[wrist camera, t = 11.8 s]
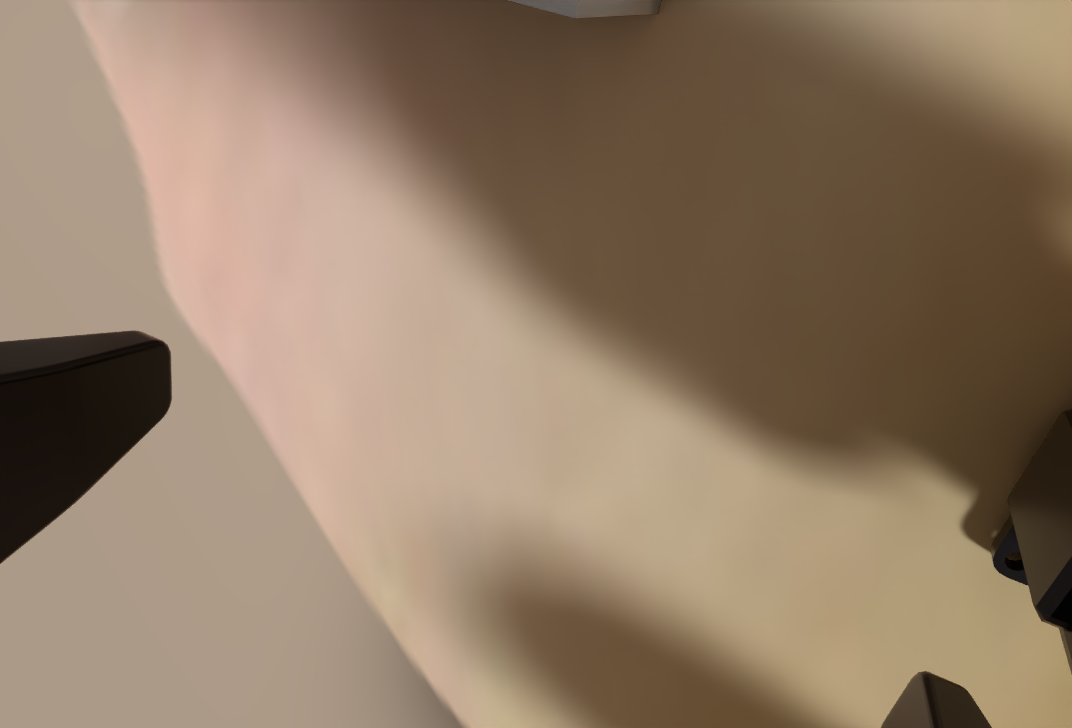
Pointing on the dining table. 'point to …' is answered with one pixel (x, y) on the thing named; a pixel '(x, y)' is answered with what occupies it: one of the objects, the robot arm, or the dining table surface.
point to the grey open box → (595, 7)
